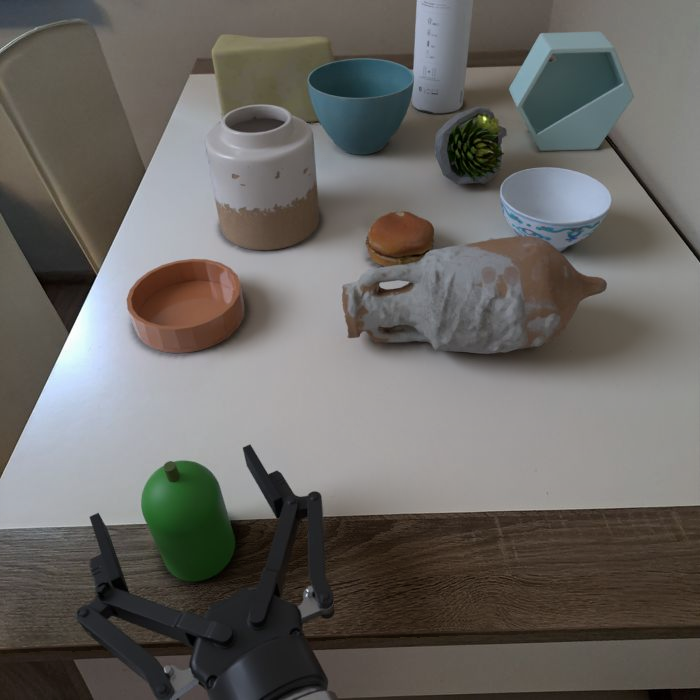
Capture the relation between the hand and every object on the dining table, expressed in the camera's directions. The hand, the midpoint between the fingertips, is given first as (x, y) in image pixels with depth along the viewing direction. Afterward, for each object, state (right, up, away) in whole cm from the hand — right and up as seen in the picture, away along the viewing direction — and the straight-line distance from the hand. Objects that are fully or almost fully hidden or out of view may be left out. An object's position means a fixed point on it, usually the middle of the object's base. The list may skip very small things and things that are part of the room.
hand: (176, 487), depth 56 cm
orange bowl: (-6, +16, +28) cm, 33 cm away
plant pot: (+17, +50, +63) cm, 82 cm away
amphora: (+30, +14, +24) cm, 41 cm away
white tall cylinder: (+33, +62, +74) cm, 102 cm away
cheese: (+2, +57, +71) cm, 92 cm away
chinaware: (+44, +28, +39) cm, 65 cm away
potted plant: (+36, +40, +52) cm, 75 cm away
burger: (+22, +26, +38) cm, 51 cm away
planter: (+53, +50, +61) cm, 95 cm away
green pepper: (+1, -7, +4) cm, 8 cm away
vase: (+3, +32, +44) cm, 54 cm away
